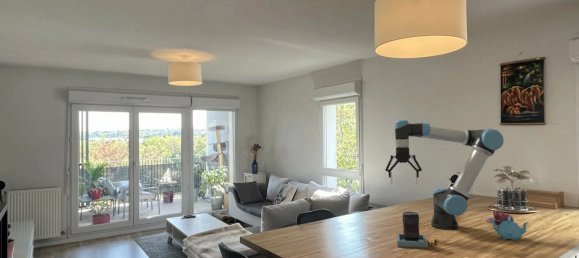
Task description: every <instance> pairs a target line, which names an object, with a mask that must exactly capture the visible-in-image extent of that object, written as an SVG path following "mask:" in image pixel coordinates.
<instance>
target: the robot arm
mask: <svg viewBox="0 0 579 258" xmlns="http://www.w3.org/2000/svg"><path fill="white" fill-rule="evenodd" d="M394 133H395V134H394V135H395V138H394V139H395V140H394V141H395V155H393V154H391V155H390V159H389V160H388V162H387V165H386V167H385V172H388V178H390V184H393V172H392V170H394V168H395V167H396V166H397V165H398V164H406V163H407V164H409V165H410V167H412V169H413V170H414V183H415V184H418V179H419V177H420V176H419V175H420V172H421V171H423V170H422V167H421V165H420V164H419V162H418V161H417V159H416V155H415V154H412V155H410V147H409V146H410V137H414V138H415V137H416V138H421V139H422V138H424V139H430V140H436V141H437V140H438V141H445V142H450V143H460V144H461V145H462V146H467V147H471V149H472V151H471V153H470V155H469V157H468V158H467V160H466V162H465V164H464V166H463V168H462V169H461V171H460V173H458V176H457V178H456V180H455V182H453V183H454V184H453V185H452V186H451V185H450V186H449V187H448V188H434V189H433V191H432V192H433V193H432V197H433V198H432V199H433V214H432V219H431V222H430V225H431V227H432V228H435V229H441V230H455V229H458V228H459V223H458V220H457V217H456V216H460V215H463V214H464V213H465V212H466V211H467V210H468V202H467V201H469V198H470V196H469V193H470V191H471V189H472V187H473V185H474V184H475V181H476V180H477V178H478V176H479V174H480V173H481V171H482V169H483V167H484V165H485V164H486V162H487V160H488V158H489V157H493V155H494V154H495V152H496V151H497V150H500V148H502V146H503V145H504V136H503V135H502V133H501V132H500V131H499V130H497V129H493V128H487V129H483V128H482V129H464V130H460V129H452V128H446V127H445V128H444V127H437V126H431V125H430V124H429V122H426V123H425V122H420V123H418V122H417V123H409V120H407V119H405V120H395V122H394ZM410 158H411V159H412V160H413V161H414V163H415V165H416V166H415V165H414V164H413V163H412V162H411V161H410ZM394 159H396V161H395V162H394V163H393V164H392V161H393V160H394ZM391 164H392V166H391ZM390 166H391V167H390Z"/></svg>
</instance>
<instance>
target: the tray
mask: <svg viewBox="0 0 579 258" xmlns="http://www.w3.org/2000/svg"><path fill="white" fill-rule="evenodd" d="M396 242H397V248H410V249H426V250H428V249H429V242H428V239H427V237H426V234H419V240H418V241H405V239H404V235H403V233H396Z"/></svg>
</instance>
